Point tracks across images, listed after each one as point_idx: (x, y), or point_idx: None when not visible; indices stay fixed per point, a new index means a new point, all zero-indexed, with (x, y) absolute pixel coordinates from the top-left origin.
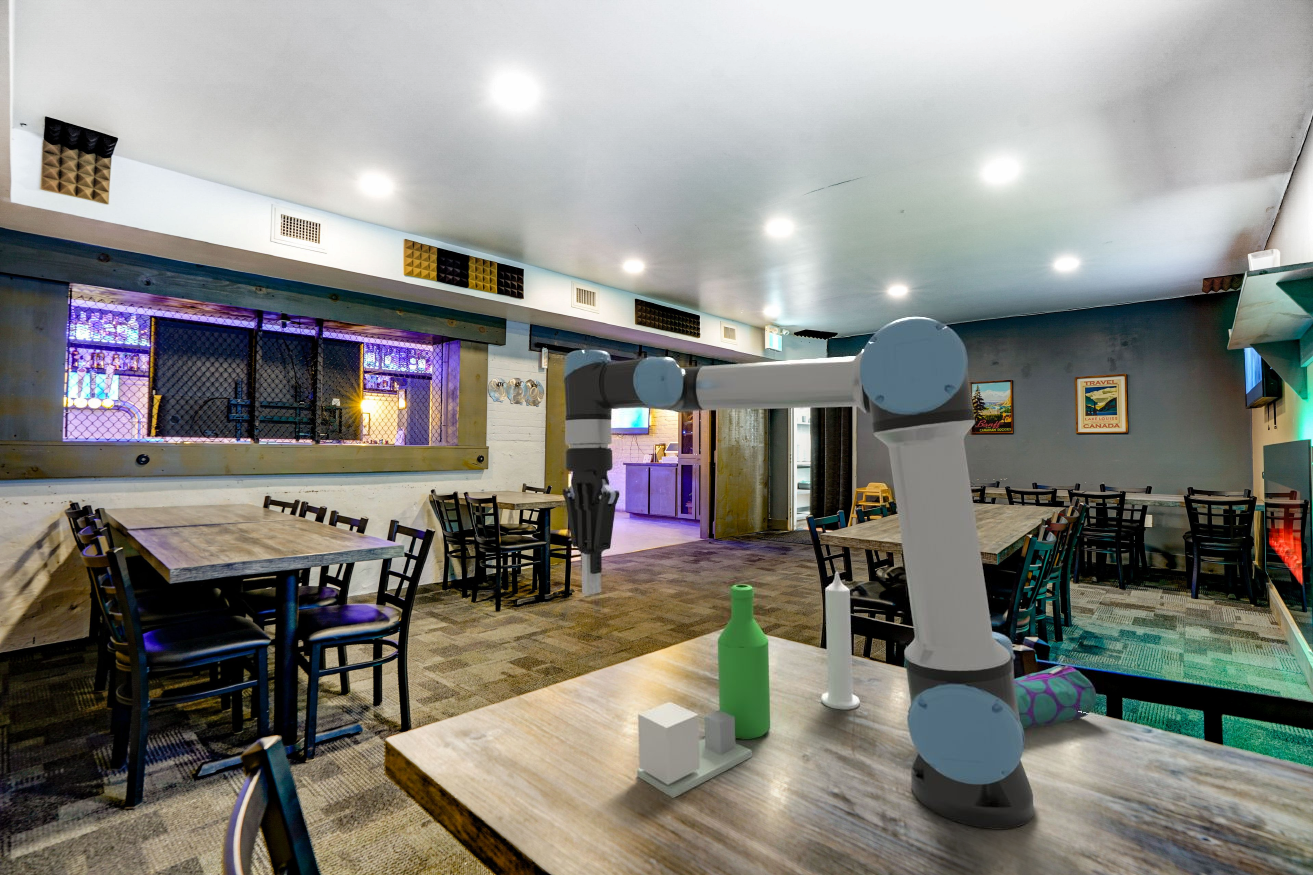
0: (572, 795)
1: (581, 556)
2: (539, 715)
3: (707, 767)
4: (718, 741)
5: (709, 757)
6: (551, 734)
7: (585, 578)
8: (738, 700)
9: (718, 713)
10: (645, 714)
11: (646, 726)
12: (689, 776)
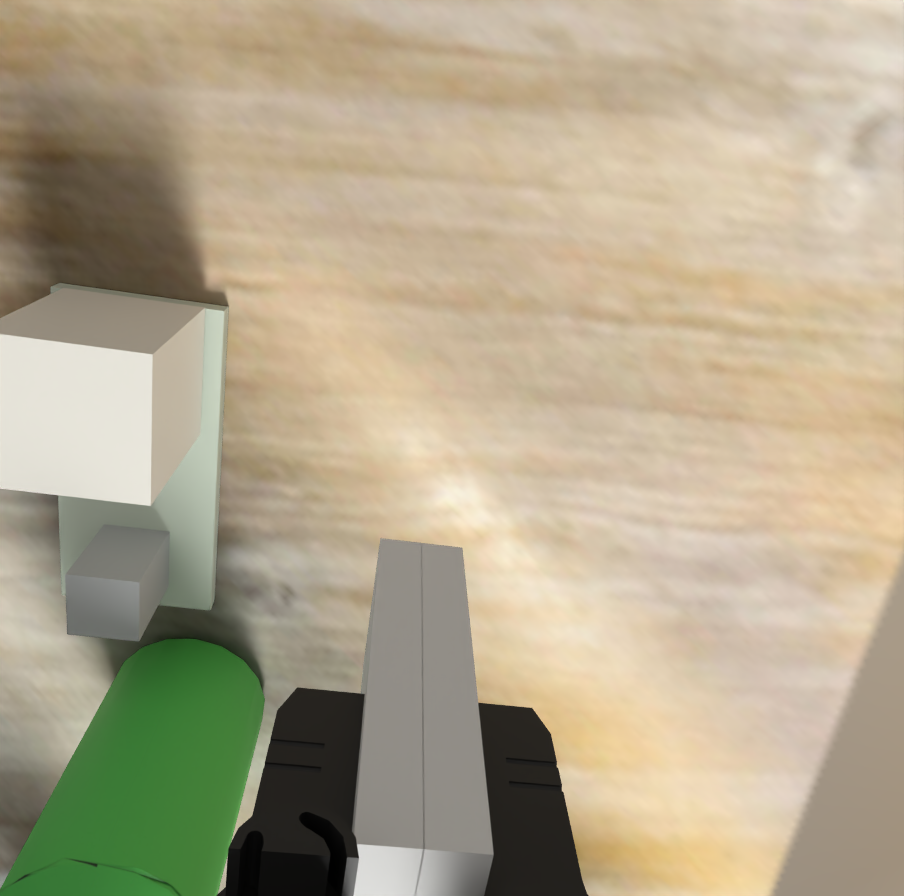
0: (293, 91)
1: (557, 844)
2: (794, 387)
3: None
4: (98, 543)
5: None
6: (653, 320)
7: (402, 623)
8: (118, 713)
9: (122, 622)
10: (129, 369)
11: (111, 338)
12: None
